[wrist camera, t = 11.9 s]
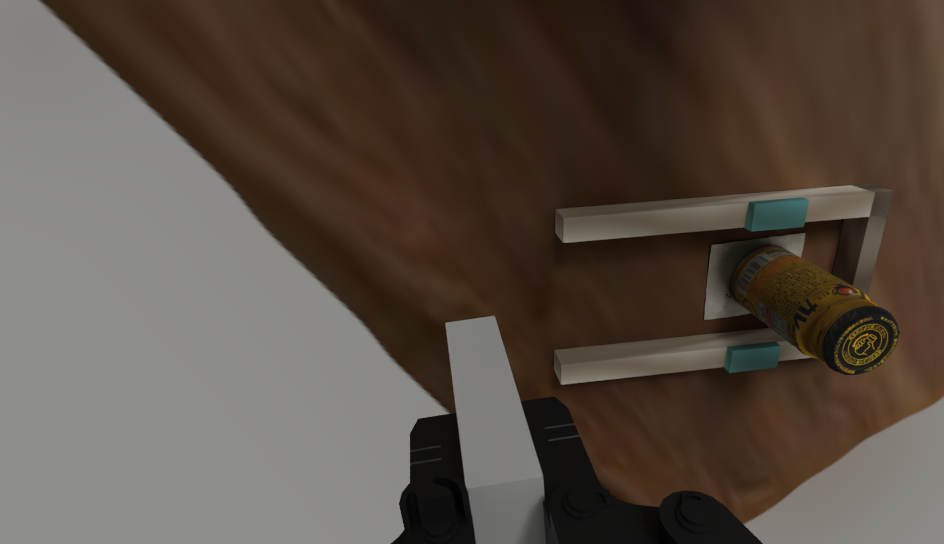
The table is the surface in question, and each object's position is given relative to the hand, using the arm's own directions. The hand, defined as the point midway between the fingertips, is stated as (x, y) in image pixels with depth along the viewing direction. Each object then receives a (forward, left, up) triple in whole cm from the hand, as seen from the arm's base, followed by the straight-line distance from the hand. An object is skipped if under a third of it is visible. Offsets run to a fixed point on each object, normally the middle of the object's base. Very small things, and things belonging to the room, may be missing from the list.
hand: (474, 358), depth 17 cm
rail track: (+11, +23, -27) cm, 37 cm away
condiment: (+11, +27, -27) cm, 40 cm away
